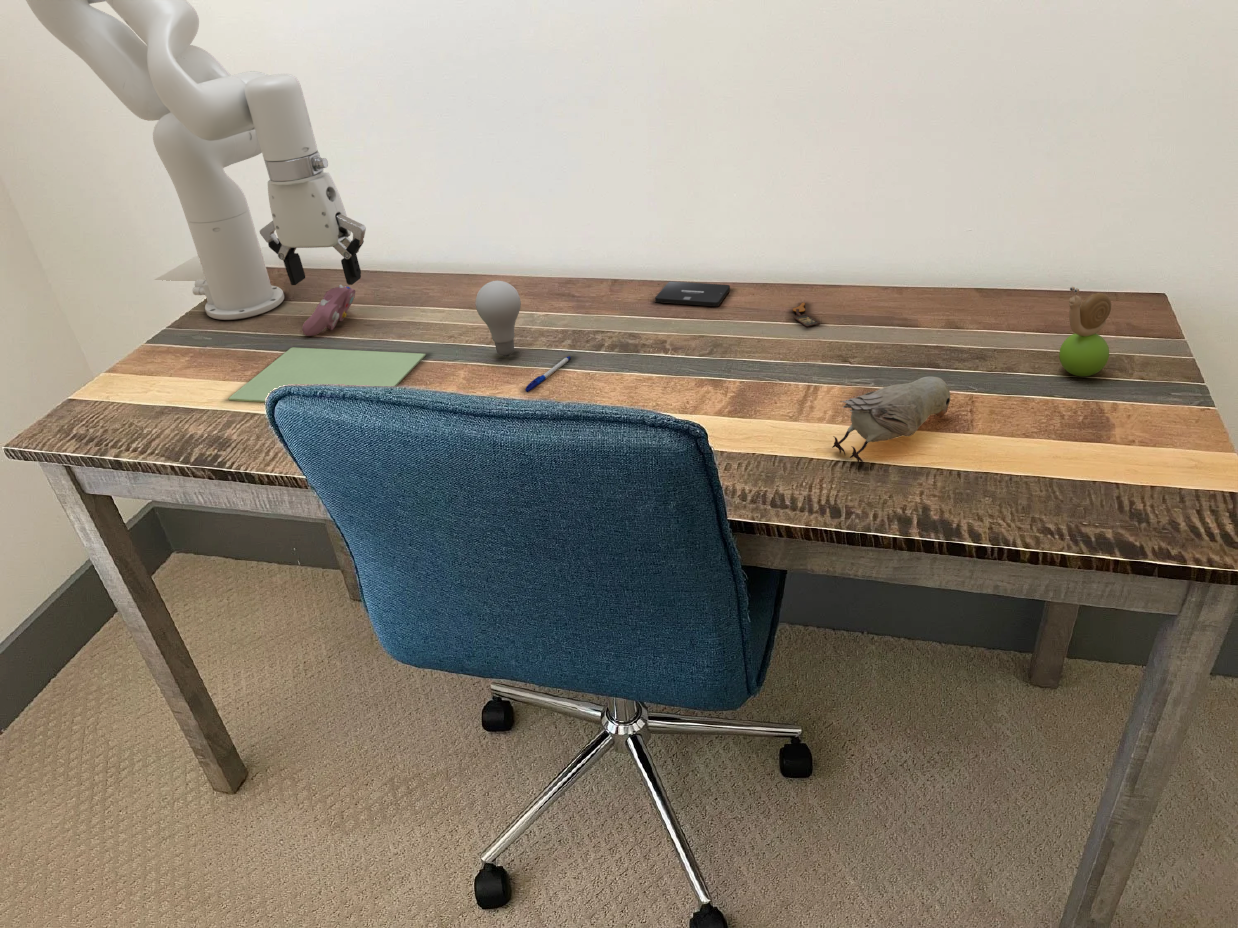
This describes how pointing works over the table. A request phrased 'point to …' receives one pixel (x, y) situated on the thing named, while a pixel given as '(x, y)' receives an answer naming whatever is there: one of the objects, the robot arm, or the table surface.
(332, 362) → the desk mat
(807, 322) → the key tag
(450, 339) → the table surface
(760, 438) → the table surface
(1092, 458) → the table surface
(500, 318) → the lightbulb
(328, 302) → the video game controller
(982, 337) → the table surface
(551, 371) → the ballpoint pen
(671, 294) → the solid state drive
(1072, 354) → the snail figurine
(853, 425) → the decorative bird
